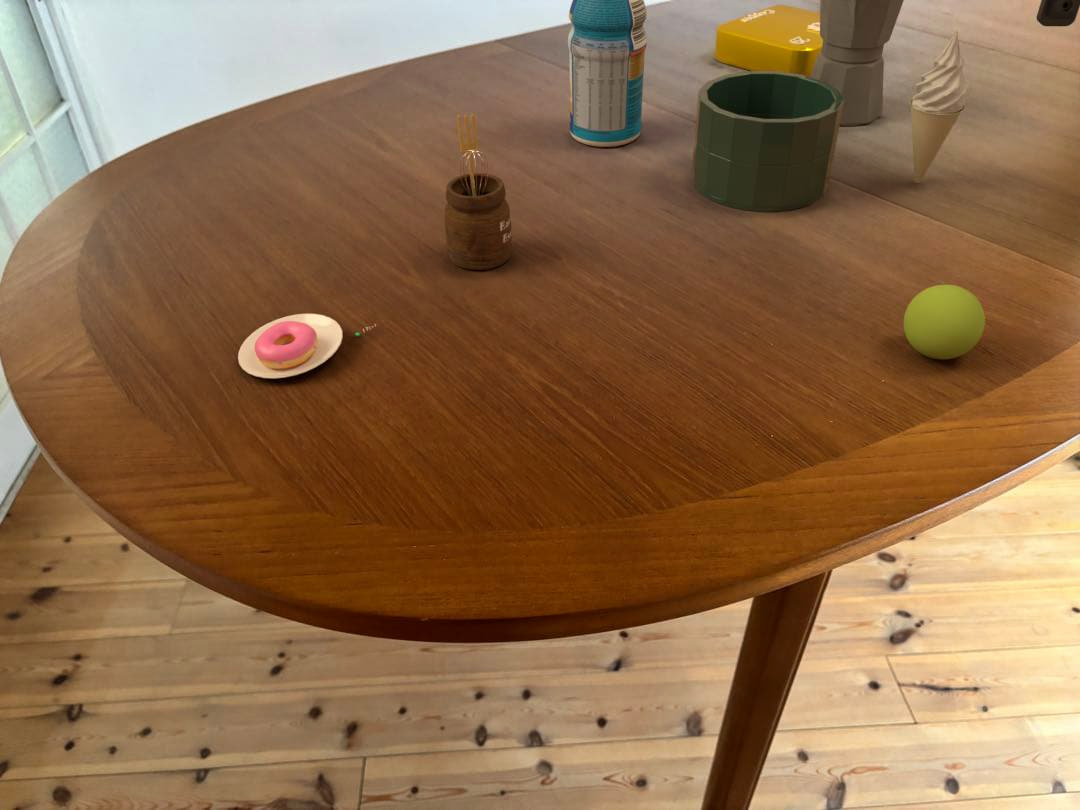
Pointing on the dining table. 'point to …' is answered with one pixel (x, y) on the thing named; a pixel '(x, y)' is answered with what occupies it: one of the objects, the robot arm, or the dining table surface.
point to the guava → (944, 322)
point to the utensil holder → (476, 213)
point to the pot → (765, 140)
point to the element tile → (771, 40)
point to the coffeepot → (855, 54)
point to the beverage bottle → (606, 70)
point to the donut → (290, 346)
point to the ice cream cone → (937, 105)
